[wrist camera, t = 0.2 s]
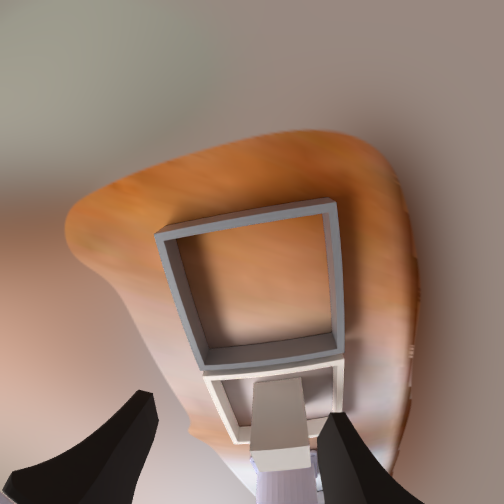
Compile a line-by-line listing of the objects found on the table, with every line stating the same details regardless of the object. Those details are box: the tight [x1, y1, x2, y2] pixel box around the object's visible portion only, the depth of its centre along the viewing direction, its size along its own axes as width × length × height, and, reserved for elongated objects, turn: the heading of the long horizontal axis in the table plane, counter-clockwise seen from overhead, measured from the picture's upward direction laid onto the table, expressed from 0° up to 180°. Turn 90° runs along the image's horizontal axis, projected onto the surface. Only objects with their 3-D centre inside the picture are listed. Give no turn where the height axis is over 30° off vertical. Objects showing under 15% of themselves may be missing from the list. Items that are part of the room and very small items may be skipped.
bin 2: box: [203, 353, 344, 444], centre depth 21 cm, size 10×10×2 cm
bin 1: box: [154, 197, 345, 371], centre depth 17 cm, size 10×10×2 cm
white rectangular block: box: [250, 377, 311, 472], centre depth 18 cm, size 4×4×7 cm
